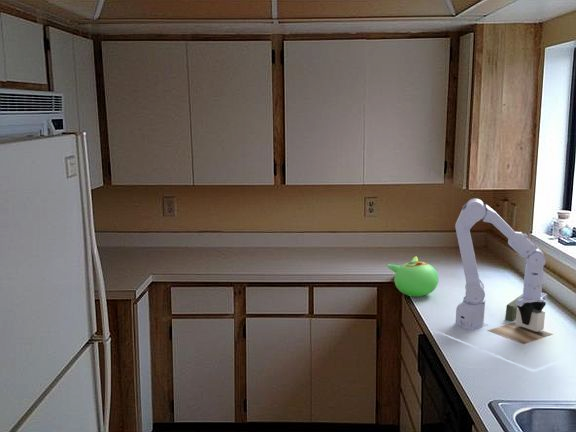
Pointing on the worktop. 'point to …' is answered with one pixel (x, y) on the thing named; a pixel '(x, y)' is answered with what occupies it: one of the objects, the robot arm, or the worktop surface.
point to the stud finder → (532, 320)
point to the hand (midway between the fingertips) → (529, 322)
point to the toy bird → (415, 278)
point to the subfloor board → (519, 333)
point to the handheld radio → (511, 310)
